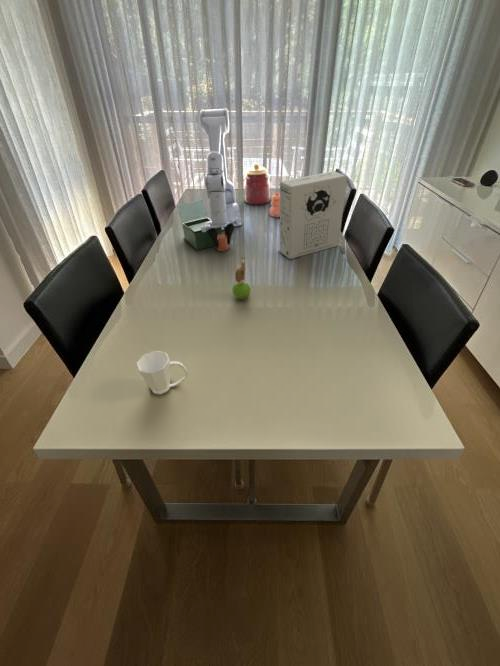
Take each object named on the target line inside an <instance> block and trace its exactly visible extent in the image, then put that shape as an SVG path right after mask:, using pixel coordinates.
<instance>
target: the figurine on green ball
mask: <svg viewBox="0 0 500 666" xmlns="http://www.w3.org/2000/svg"><path fill="white" fill-rule="evenodd" d="M240 258H241V262H240V265H241V266H238V267H237V268H236V270H235V275H234V276H235V277H234V278H235V281H236V282H235V283H234V284H233V286H232V289H231V290H232V294H233V296H234V297H235V298H236V299H237V300H245V299H247V298H248V297H249V296H250V294H251V285H250V284H249V283H248V282H246V281H245V278H246V256H241V257H240Z"/></svg>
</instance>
